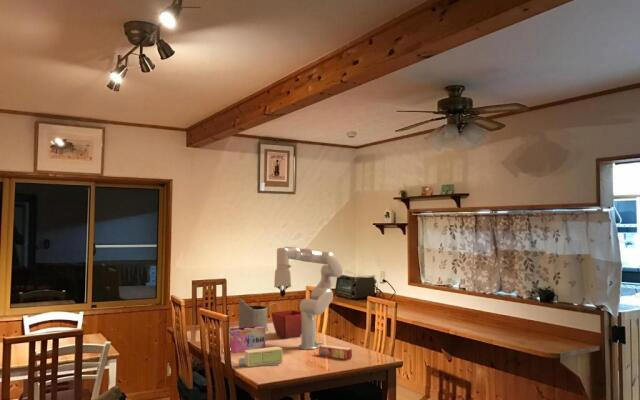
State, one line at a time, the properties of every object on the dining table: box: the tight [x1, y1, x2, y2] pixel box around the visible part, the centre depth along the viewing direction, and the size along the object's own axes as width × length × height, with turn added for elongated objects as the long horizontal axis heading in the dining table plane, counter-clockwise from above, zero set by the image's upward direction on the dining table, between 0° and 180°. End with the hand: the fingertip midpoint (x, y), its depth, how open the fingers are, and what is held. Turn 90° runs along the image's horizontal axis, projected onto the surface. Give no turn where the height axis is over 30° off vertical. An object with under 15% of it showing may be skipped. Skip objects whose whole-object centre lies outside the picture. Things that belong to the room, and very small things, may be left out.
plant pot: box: [270, 309, 301, 340], centre depth 372 cm, size 19×19×17 cm
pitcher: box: [238, 297, 280, 333], centre depth 394 cm, size 23×32×25 cm
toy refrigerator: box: [244, 346, 283, 368], centre depth 297 cm, size 8×7×21 cm
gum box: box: [228, 325, 266, 354], centre depth 333 cm, size 24×8×14 cm, turn 125°
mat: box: [239, 357, 279, 368], centre depth 301 cm, size 22×18×1 cm
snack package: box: [318, 344, 353, 361], centre depth 313 cm, size 21×7×7 cm, turn 55°
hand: (282, 296), depth 324 cm, fingers closed
